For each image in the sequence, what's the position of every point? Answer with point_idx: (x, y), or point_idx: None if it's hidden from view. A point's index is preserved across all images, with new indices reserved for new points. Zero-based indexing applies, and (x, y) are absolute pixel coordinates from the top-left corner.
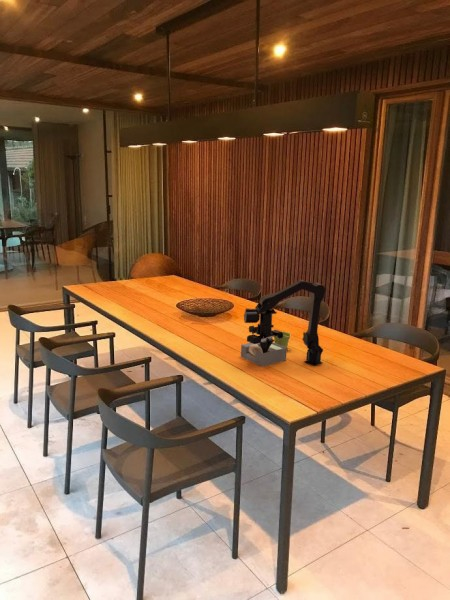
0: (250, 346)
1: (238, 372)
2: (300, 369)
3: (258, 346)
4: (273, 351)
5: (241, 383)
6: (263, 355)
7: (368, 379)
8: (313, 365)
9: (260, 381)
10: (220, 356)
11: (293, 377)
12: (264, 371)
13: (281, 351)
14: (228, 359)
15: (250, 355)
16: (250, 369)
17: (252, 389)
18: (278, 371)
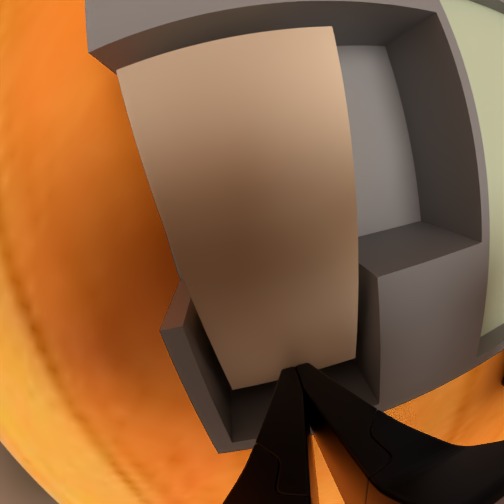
0: (130, 99)
1: (20, 366)
2: (429, 422)
3: (330, 151)
4: (419, 393)
5: (40, 460)
6: (237, 431)
7: None
8: (502, 383)
9: (126, 487)
10: (9, 13)
11: (318, 492)
12: (198, 423)
13: (502, 326)
14: (15, 78)
15: None
16: (101, 362)
17: (82, 501)
18: None
